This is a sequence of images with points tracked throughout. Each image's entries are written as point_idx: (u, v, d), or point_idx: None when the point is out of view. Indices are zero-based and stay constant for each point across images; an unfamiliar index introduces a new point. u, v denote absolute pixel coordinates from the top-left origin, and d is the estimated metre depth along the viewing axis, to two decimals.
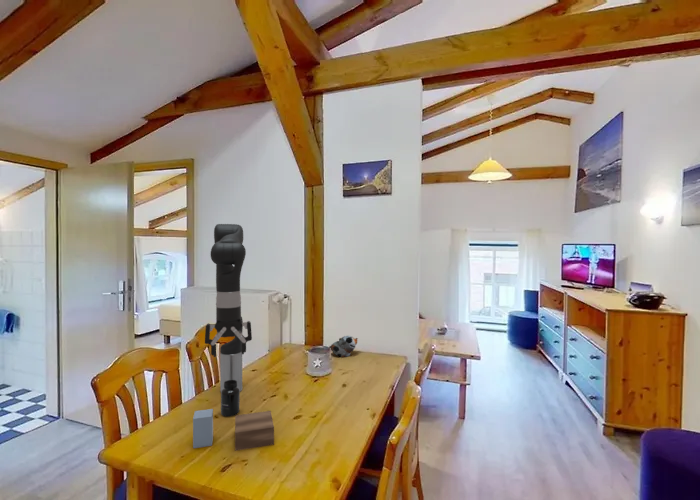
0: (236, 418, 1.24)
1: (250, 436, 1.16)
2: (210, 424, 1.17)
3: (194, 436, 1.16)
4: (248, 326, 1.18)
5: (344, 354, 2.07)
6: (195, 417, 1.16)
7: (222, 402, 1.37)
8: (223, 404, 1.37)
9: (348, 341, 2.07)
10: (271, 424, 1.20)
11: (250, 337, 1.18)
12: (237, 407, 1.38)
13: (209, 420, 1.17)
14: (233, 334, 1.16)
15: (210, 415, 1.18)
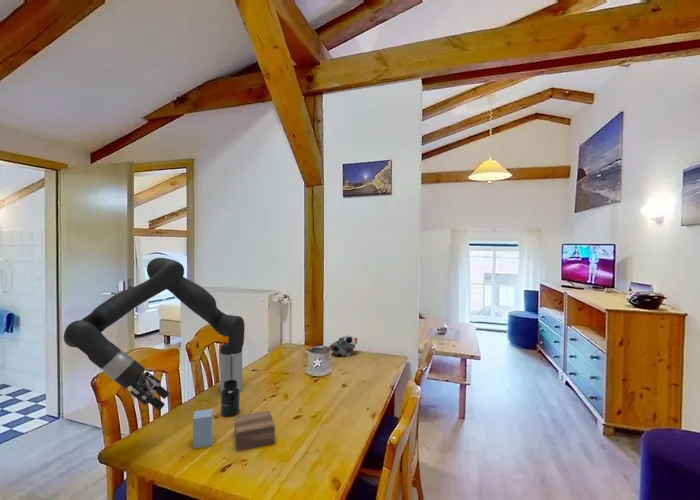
0: (236, 418, 1.23)
1: (251, 436, 1.16)
2: (210, 424, 1.17)
3: (194, 436, 1.16)
4: None
5: (344, 354, 2.08)
6: (195, 417, 1.16)
7: (222, 402, 1.37)
8: (223, 404, 1.37)
9: (348, 341, 2.08)
10: (272, 423, 1.20)
11: None
12: (237, 407, 1.38)
13: (209, 420, 1.17)
14: None
15: (210, 415, 1.18)
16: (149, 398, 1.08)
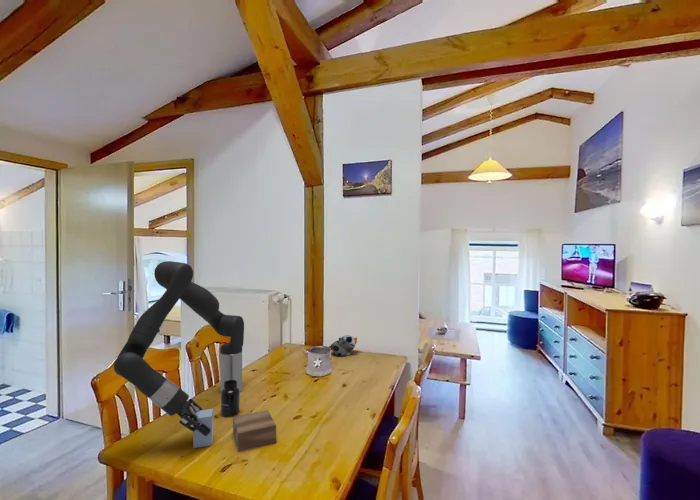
0: (235, 419, 1.23)
1: (253, 436, 1.16)
2: (210, 424, 1.17)
3: (194, 436, 1.16)
4: None
5: (344, 353, 2.08)
6: None
7: (222, 402, 1.37)
8: (223, 404, 1.37)
9: (349, 340, 2.09)
10: (272, 423, 1.20)
11: None
12: (237, 407, 1.38)
13: (209, 420, 1.17)
14: None
15: (210, 415, 1.18)
16: (198, 425, 1.13)
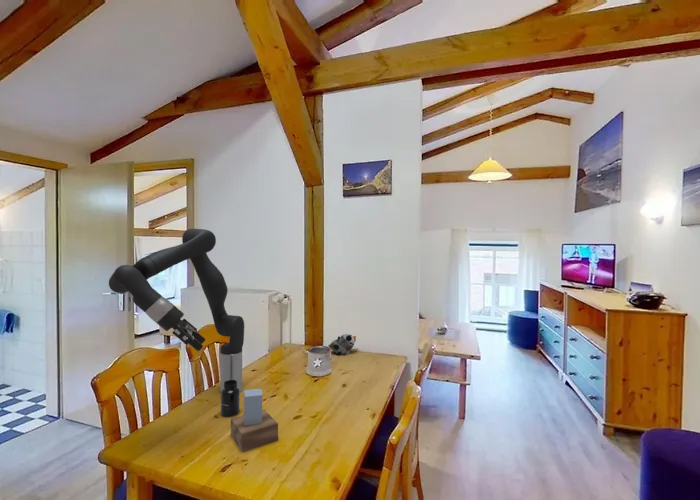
0: (234, 421, 1.22)
1: (256, 435, 1.16)
2: (260, 402, 1.20)
3: (245, 414, 1.19)
4: None
5: (344, 352, 2.11)
6: (246, 395, 1.19)
7: (222, 402, 1.37)
8: (223, 404, 1.37)
9: (348, 339, 2.12)
10: (273, 421, 1.22)
11: (184, 342, 1.15)
12: (237, 407, 1.38)
13: (259, 399, 1.20)
14: None
15: (260, 394, 1.21)
16: (190, 338, 1.15)
